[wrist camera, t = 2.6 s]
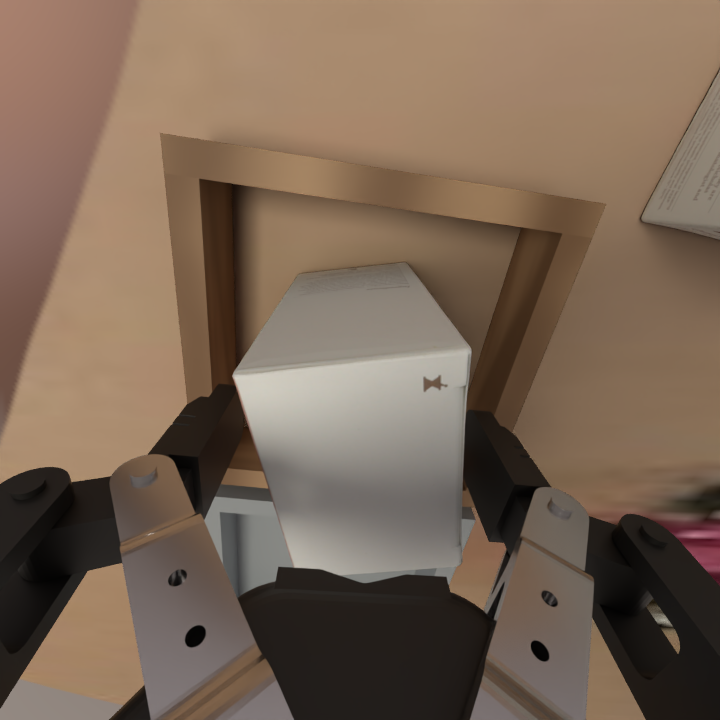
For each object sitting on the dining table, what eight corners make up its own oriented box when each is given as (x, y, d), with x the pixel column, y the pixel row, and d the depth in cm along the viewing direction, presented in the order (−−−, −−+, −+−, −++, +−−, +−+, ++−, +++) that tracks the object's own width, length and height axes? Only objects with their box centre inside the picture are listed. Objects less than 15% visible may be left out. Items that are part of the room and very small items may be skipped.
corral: (556, 202, 16) (606, 203, 12) (463, 464, 23) (480, 508, 19) (202, 146, 15) (160, 132, 11) (219, 439, 21) (195, 481, 18)
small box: (297, 271, 17) (222, 366, 7) (408, 259, 17) (477, 341, 7) (321, 404, 20) (291, 585, 11) (414, 396, 20) (464, 572, 11)
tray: (459, 475, 23) (475, 519, 20) (411, 610, 30) (418, 659, 27) (219, 452, 22) (196, 495, 19) (227, 597, 29) (212, 646, 26)
